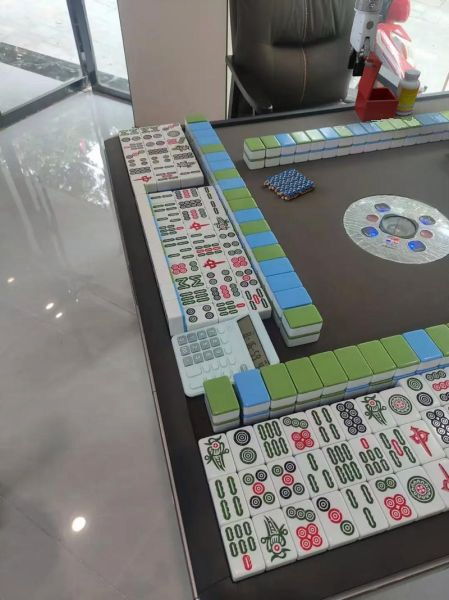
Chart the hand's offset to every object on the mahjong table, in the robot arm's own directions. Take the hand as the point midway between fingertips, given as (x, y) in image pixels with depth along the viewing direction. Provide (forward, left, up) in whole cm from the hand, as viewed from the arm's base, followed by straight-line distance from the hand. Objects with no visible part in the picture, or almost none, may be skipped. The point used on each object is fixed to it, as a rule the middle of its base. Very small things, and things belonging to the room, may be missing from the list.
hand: (354, 71), depth 135 cm
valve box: (-9, 0, -14) cm, 17 cm away
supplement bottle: (-19, -1, -14) cm, 24 cm away
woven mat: (+25, +41, -14) cm, 50 cm away
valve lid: (-5, 0, -1) cm, 5 cm away
